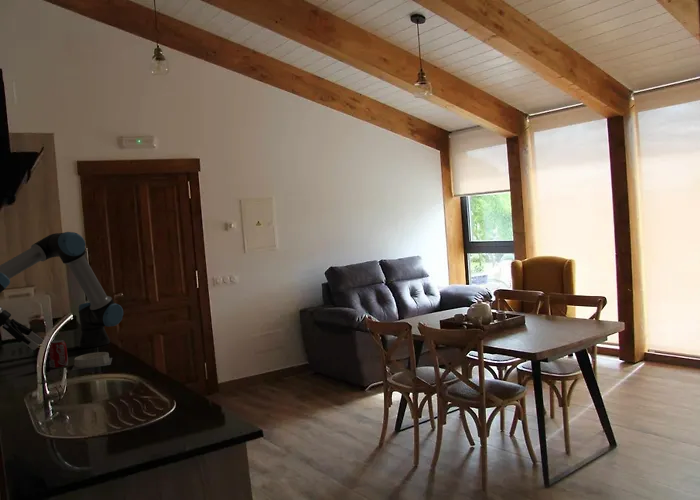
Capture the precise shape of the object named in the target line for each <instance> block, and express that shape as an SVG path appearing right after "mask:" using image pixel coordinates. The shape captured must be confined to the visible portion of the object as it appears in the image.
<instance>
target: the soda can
mask: <svg viewBox="0 0 700 500" xmlns="http://www.w3.org/2000/svg"><path fill="white" fill-rule="evenodd" d="M50 342H51V341H50ZM49 346H50V348H48V349H49V350H48V351H49V358H50V359H49V360H50V364H51V368H53V369H61V368H64V367H67V366H68V365H69V357H68V349H67V347H68V346H67V343H66V342H65V339H56V340H52V342H51V345H50V344H49Z"/></svg>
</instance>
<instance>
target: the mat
mask: <svg viewBox="0 0 700 500" xmlns="http://www.w3.org/2000/svg"><path fill="white" fill-rule="evenodd" d="M112 361H113V357H109V362H108V363H106V364H103V365H99V366H95V367H94V368H99V367H105V366H110V365H112ZM90 368H93V367H87V368H77V367H76V366H75V363H74V365H73V367H72V369H71V371H77V370H83V369H84V370H85V369H90Z"/></svg>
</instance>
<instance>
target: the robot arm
mask: <svg viewBox="0 0 700 500" xmlns="http://www.w3.org/2000/svg"><path fill="white" fill-rule="evenodd" d="M85 249H86V241H85V239H84V237H83V236H82V235H81V234H79V233H77V232H73V231H66V232H58V233H57V232H56V233H52V234H49V235H47V236H45V237H43V238H42V239H40V240H38V241H36V242H35V243H32V245H31V246H30V248H29V249H27V250H25V251H23V252H22V253H20V254H18V255H16V256H14V257H13V258H11V259H9V260H7V261H5V262H4V263H2V264H0V294H2V292H3V291H4V290H6V289H7V287H8V286H9V285H10V283H11V280H10V279H11V278H13V277H15V276H17V275H18V274H20V273H23V272H24V271H25V270H27V269H29V268H31V267H32V266H34V265H36V264H37V263H39V262H46V261H47V260H49V259H52V258H56V257H58V258H60V260H61V261H62V263H63V264H64V265H68V267H69V269H70V271H71V272H72V274H73V276H74V278H75V279H76V280H77V282H78V284H79V286H80V288H81V289H82V291H83V293H84V295H85V296H86V298H87V300H88V302H84V303H81V304H78V312H77V313H78V315H79V316H78V317H79V326H80V337H79V341H78V348H80V347H81V349H88V348H89V349H90V347H91V348H98V347H103V346H106V345H108V344H110V343H111V342H110V341H111V340H110V337H109V336H108V333H107V332H106V329H105V327H109V328H111V327H115V326H118V325H119V324H120V323H121V322H122V320H123V318H124V317H123V316H124V309H123V307H122V305H120V304H118V303H115V301H114V299H113V297H111V295H110V296H109V295H107V294H106V291H105V290H104V288H103V286H102V285H101V282H100V280H99V279H98V278H97V276H96V274H95V273H94V271H93V269H92V267H91V265H90V263H89V261H88V259H87V258H86V254H87V252H86V250H85ZM11 317H12V314H11V313H10V312H9V311H7V310H5V309H4V307H2V306H0V328H2V329H4V330H5V331H7V332H8V334H9V335H11V336H12V337H13V338H14V339H15V340H17V342H18V343H23V344H24V345H25V346H27V347H29V348H30V349H31V350H33V351H36V349H37V348H38V347H39V346H40V345H41V344H42V343H43V342H44V341H43V340H44V339H43V338H42V337H40V336H39V335H37V334H36V333H35V332H33V329H32V328H29V327H27V326H25V325H24V324H22V323H20V322H19V321H17V320H16V319H14V318H11ZM10 318H11V319H10ZM42 341H43V342H42Z"/></svg>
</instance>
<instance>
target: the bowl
mask: <svg viewBox="0 0 700 500" xmlns="http://www.w3.org/2000/svg"><path fill="white" fill-rule="evenodd" d="M109 358H110V354H109V352H106V351H101V352H99V351H97V352H89V353H84V354H82V355H79V356H76V357H74V364H75V366H76V367H77V368H85V369H88V368H87V367H92V368H96V367H95V366H99V365H103V364H106V363H108V362H109ZM99 367H100V366H99Z"/></svg>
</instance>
